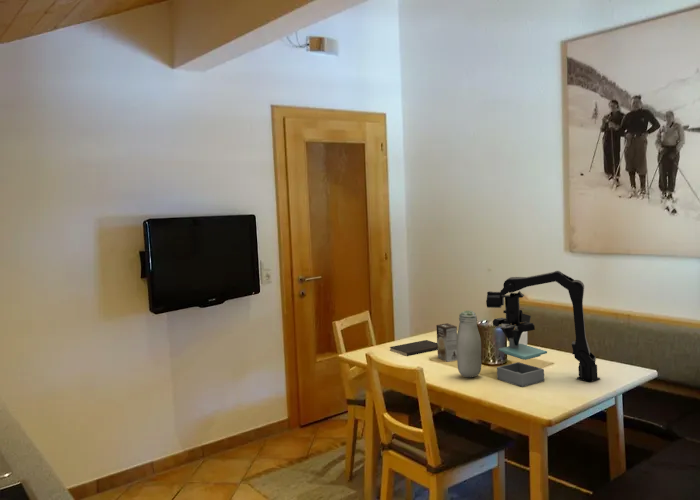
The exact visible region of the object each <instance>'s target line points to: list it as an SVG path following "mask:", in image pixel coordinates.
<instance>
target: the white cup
mask: <svg viewBox="0 0 700 500" xmlns="http://www.w3.org/2000/svg"><path fill="white" fill-rule="evenodd" d="M519 344H524V345H527V346H528V331H527V332H522V334H521V337H520V340H519Z"/></svg>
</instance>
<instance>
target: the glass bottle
mask: <svg viewBox="0 0 700 500" xmlns="http://www.w3.org/2000/svg"><path fill="white" fill-rule="evenodd" d="M458 320H459V325H458V328H457V338H456V348H457V360H456V363H457V364H456V365H457V369H458V372H459V374H460V375H461V376H462V377H465V378H474V377H475V378H476V377H478V375H479V374H481V370H482V341H481V340H482V339H481V335H480V332H479V328H478V323H477V322H478V318H477V314H476V312H475V311H474V310H464V311H462V312H460V313H459V317H458Z"/></svg>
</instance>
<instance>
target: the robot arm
mask: <svg viewBox="0 0 700 500" xmlns="http://www.w3.org/2000/svg"><path fill="white" fill-rule="evenodd" d="M554 282H555V283H558V284H559V285H560V286H561V287H562V288H564V289H566V290H567V291H568V295H569V298H570V302H571V304H572V311H573V321H574V332H575V333H574V334H575V341H574V340H572V342H571V348H572V354H571V355H573V356H574V359H575V360H577V361H578V376H577V377H576V379H577V380H580V381H585V382H588V383H592V382H595V381H598V380H600V379H601V377H598V364H597V363H596V360H597V356H596V355H594V353H592V352H591V348H590V345H589V343H588V339H587V336H586V335H587V334H586V325H585V317H584V316H585V315H584V305H583V303H584V302H583V301H584V295H585V294H584V293H585V285H584V283H583V281H581V280H579V279H575V278H572V277H570V275H569V276H568V275H567V274H565V273H563V272H561V271H560V270H555V271H552V272H547V273H542V274H535V275H531V276H510V277H508V278H506V279H505V280H504V282H503V287H502V289H501V290H500V291H489V290H488V291H487V293H486V303H485V304H486V307H487V308H488V309H490V308H491V309H493V308H494V309H495V308H498V309H501V308H502V306H504V307H505V310H503V314H505V317H498V318H497V317H496V318H494V319H493V320H492V326H493V327H499V326H500V325H501V327H500V330H502V332H503V333H504V335H505V337H506V338H507V341H508V342H509V338H511V337H513V339H514V343H515V345H516V346H517V345H518V343H519V340H520V337H521V334H522V332H527V333H528V332H531V331H535V330H536V329H535V324H534V323H533V322H531V317H532V316H531V315H529V314H526V313H523V310H522V309H521V308H520V298H523V297H524V296H525V295H524V294H523V293H522V292H521V291H520V290H523V289H525V288H528V287H533V286H538V285H542V284H543V285H544V284H549V283H554ZM507 294H508V295H507Z"/></svg>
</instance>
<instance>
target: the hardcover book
mask: <svg viewBox="0 0 700 500" xmlns="http://www.w3.org/2000/svg"><path fill="white" fill-rule="evenodd" d="M389 350H390V351H391V352H394V353H397V354H400V355H404V356H406V357H410V356H415V355H420V354H425V353H431V352H435V351H438V349H437V342H435V341H431V340H427V339H425V340H419V341H414V342H409V343H404V344H399V345H398V344H397V345H394V346H392V345H391V346H389Z"/></svg>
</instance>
